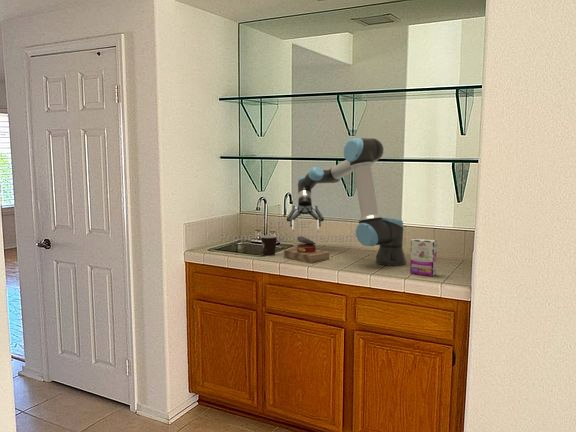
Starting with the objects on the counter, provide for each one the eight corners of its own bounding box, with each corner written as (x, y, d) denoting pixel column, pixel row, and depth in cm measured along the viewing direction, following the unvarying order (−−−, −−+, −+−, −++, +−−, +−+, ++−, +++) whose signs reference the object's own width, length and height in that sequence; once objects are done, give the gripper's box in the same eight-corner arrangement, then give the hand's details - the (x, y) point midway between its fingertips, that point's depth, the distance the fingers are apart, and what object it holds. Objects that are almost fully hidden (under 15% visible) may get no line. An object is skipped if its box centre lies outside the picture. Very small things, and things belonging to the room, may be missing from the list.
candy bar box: (436, 274, 242) (437, 240, 240) (432, 276, 238) (434, 241, 236) (413, 271, 248) (414, 237, 246) (409, 273, 244) (410, 239, 242)
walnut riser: (329, 259, 275) (329, 252, 275) (311, 263, 265) (311, 255, 265) (302, 254, 289) (302, 246, 289) (284, 257, 280) (284, 250, 279)
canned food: (297, 259, 279) (292, 241, 282) (314, 255, 282) (310, 238, 285) (302, 253, 268) (297, 235, 271) (320, 249, 271) (315, 232, 274)
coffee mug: (276, 256, 284) (276, 238, 282) (260, 256, 284) (260, 238, 283) (277, 251, 295) (277, 234, 294) (262, 251, 295) (262, 234, 294)
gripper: (326, 204, 295) (328, 234, 282) (282, 204, 295) (282, 234, 282) (327, 196, 289) (329, 226, 276) (282, 196, 289) (282, 226, 276)
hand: (305, 230), depth 279 cm, fingers open, 13 cm apart
